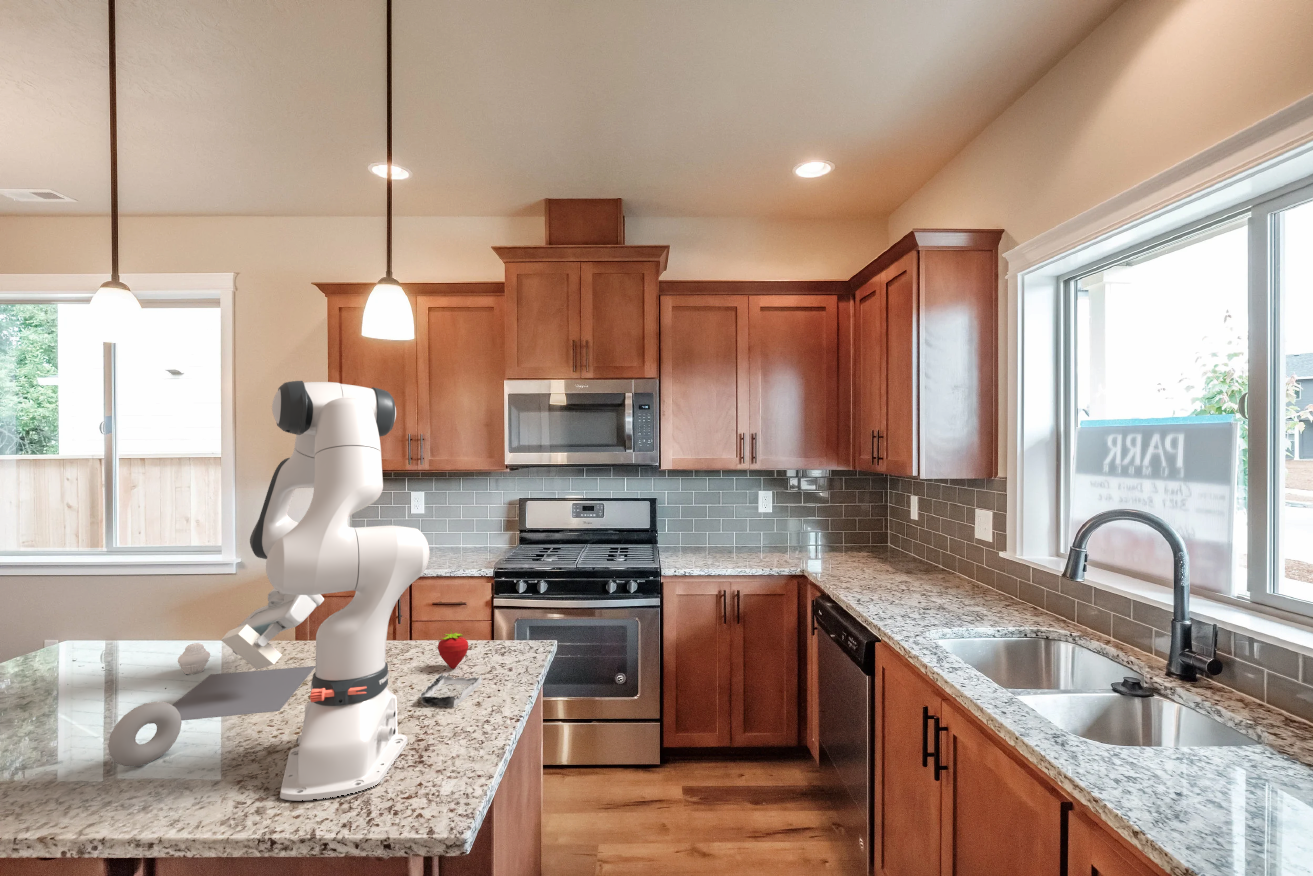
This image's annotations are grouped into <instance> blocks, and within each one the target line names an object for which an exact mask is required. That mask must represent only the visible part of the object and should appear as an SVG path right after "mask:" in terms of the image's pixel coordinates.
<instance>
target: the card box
mask: <svg viewBox="0 0 1313 876" xmlns="http://www.w3.org/2000/svg"><path fill="white" fill-rule="evenodd" d="M237 627H238V626H237ZM237 627H236V628H233V629H229V630H228V631H227V632H226V634H225V635H224V636H223V637H222V638H221V639H220V641H221V642H223V644H225V645H226V646H227V647H228V648H230V649H231V651H232V650H233V651H235V652H236V653H237V654H238V655H237V656H239V657H240V658H242V659H243V660H244V662H246V663H248V664H249V665H250V666H251V667H253V668H254V669H255V671H259V670H262V669H264V668H268V667H270V666H273V665H275V664H276V663H277V661H278V660H279V659H280V658H281V657H282V655H283V654H282V653H281V652H280V651H278V649H276V648H275V647H274V646H273V645H272V644H271V643H269V642H268V643H267V644H266V645H265V646H263V647H260V648H258V647H257V646H256V645H254V642H255V640H256V639H257V638H258V637H259V636H260V635H259V634H258V633H257V632H256V631H254V630H253V629H252V628H251V627H250V626H249V625H247V624H246V625H243V626H240V627H238V628H237ZM233 651H232V652H233Z"/></svg>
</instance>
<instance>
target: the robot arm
mask: <svg viewBox="0 0 1313 876" xmlns="http://www.w3.org/2000/svg"><path fill="white" fill-rule="evenodd" d="M271 407H272V408H271V409H272V416H273V417H274V420H275V422H276V426H277V427H278V428H279V429H280V430H281V431H283V432H285V433H288V434H292V435H295V441H294V449H293V452H292V454H291V456H290V457H286V458H285V459H282V460H281V461H280V463H279V464H278V465H277V467H276V468H275V470H274V472H273V475H272V477H271V480H270V483H269V486H268V489H267V492H266V496H265V499H264V502H263V505H262V508H261V511H260V514H259V518H258V520H257V522H256V524H255V525H254V528H253V530H252V532H251V535H250V537H249V544H250V548H251V551H252V552H253V554H254V556H255V557H256V558H259V559H263V560H266V562H265V573H266V576H267V579H268V581H269V583H270V584H271V586H272V587H273V588H272V589H271V591H270V592H269V593H268V594H267V601H268V603H267V605H265V606H262V607H259V608H257V609H255V610H254V611H252V612H251V613H250V614H249V615H248V616H247V617H246V618H245V619H244V620H243V621H242V622H241V623H240V624H238V626H237V627H236V628H238V627H240V626H243V625H246V624H247V625H249V626H250V627H251V628H252V629H253V630H254V631H256V632H257V633H258V634H259V635H260V636H259V637H258V638H257V639H256V640H255V642H254V645H256V646H257V647H258V648H260V647H263V646H265V645H266V644H267V643H269V642H270V641H271V640H272V639H274V638H275V637H276V636H277V635H279V634H280V632H283V631H286V630H290V629H292V628H296V627H297V626H300V624H302V623H303V622H304V621H305V620H306V619H307V618H308V617H309V616H310V615H311V613H313V611H314V610H315V609H316V608H317V607H319V606H321V604H323V602H324V601H325V598H324V597H323V595H325V594H326V595H327V594H333V593H341V592H352V591H354V592H355V594H354V596H353V598H352V599H351V601H350V602H349V603H348V604H347V605H346V606H344V607H343V608H342V609H340V610H338V611H336V612H334V613H333V614H331V615H329V616H328V617H327V618H326V619H324V621H323V622H322V623H321V624H320V625H319V627H318V629H317V631H316V634H315V665H314V666H315V668H314V670H315V671H314V673H312V679H311V683H310V696H309V701H308V702H307V703H306V704H305V705H304V719H303V723H302V728H301V729H302V730H301V734H300V735H298V736H297V737H296V743H297V746H295V747H294V748H292V749H290V751H289V753H288V757H287V760H286V765H285V768H284V769H285V770H284V774H283V779H282V784H281V786H280V793H279V798H280V799H282V800H286V801H301V802H302V800H303V801H314V800H313V799H317V800H325V798H326V799H332V797H333V798H338V797H337V796H339V797H342V796H341V795H344V796H348V795H347V794H349V795H351V794H350V793H353V794H356V793H355V792H357V793H359V792H358V791H361V790H364V789H367V788H370V787H372V788H374V787H376V786H375V785H377V784H378V783H379V782H380V780H381V779H382V778H383V779H384V777H385V776H386V775H387V773H388V772H389V770H390V769H391V768H392V766H393V765H392V764H395V762H396V760H397V759H398V757H399V756H400V755H401V753H402V752H403V750H404V749H405V747H406V746H407V745H406V744H408V743H409V742H408V741H409V740H408V736H407V735H405V734H402V733H398V732H399V731H398V730H399V729H398V702H397V699H398V697H397V695H395V694H394V693H392V692H391V690H390V689H389V687H388V685H389V675H390V673H389V664H388V663H387V662H386V655H387V653H386V652H387V651H386V650H387V640H388V639H387V638H388V628H389V622H390V618H391V616H392V612H393V610H394V607H395V606H396V604H397V602H398V600H399V599H400V598H401V596H402V595H403V593H404V592H405V591H406V590H407V589H408V588H409V587H410V586H411V584H413V583H414V582H415V581H416V580H418V579H419V578H420V577H421V576H422V575H423V573H424V572H425V571H426V569H427V567H428V564H429V562H430V561H429V560H430V553H431V552H430V546H429V543H428V539H427V537H426V536H425V535H424V533H422V531H420V529H418V528H416V527H411V526H410V527H409V526H402V525H377V526H375V525H374V526H363V527H361V526H358V527H353V526H349V525H348V522H349V517H350V516H352V515H353V514H355V513H357V512H359V511H361V510H364V509H366V508H367V507H369V506H371V505H372V504H374V503H375V502H376V501H377V500H378V499H379V498H380V496H381V495H382V492H383V489H384V479H383V461H382V447H381V446H382V445H381V439H380V438H381V437H384V436H386V435H388V434H389V433H390V432H391V431H392V429H394V428H393V427H394V424H395V421H396V418H397V408H396V404H395V399H394V397H393V396H392V394H391V393H390V392H389V391H388V390H385V389H381V388H379V387H375V386H373V387H371V388H370V387H366V386H361V385H354V384H353V385H352V384H348V383H347V384H346V383H340V382H335V381H334V382H332V381H308V382H307V381H305V382H304V380H295V381H293V380H292V381H285V382H284V383H282V384H281V385H280V386H279V387H278V388H277V392H276V393H275V395H274V397H273V400H272V403H271ZM309 488H311V489H312V488H313V493H312V498H311V502H310V505H309V507H308V508H307V511H306V512H305V514H304V515H303V517H302V519H301V520H300V521H299V522H298V521H296V520H294V519H292V518H291V517H290V516H289V515H288V512H289V509H290V507H291V503H292V499H293V497H294V494H295V491H296V490H297V489H309ZM231 651H232V653H234V654H235V655H236V656H239V655H238V654H237V653H236V652H235V651H233V650H232V649H231ZM403 748H404V749H403ZM396 758H397V759H396ZM395 759H396V760H395ZM394 761H395V762H394ZM391 765H392V766H391ZM389 768H390V769H389ZM388 769H389V770H388ZM387 771H388V772H387ZM385 774H386V775H385ZM384 775H385V776H384ZM383 779H382V780H383ZM382 780H381V781H382ZM380 783H381V782H380ZM380 783H379V784H380ZM379 784H378V785H379ZM378 785H377V786H378ZM373 786H374V787H373ZM370 789H371V788H370ZM367 790H368V789H367ZM364 791H365V790H364ZM361 792H362V791H361ZM330 797H331V798H330ZM323 798H324V799H323Z"/></svg>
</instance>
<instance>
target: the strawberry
mask: <svg viewBox="0 0 1313 876" xmlns="http://www.w3.org/2000/svg"><path fill="white" fill-rule="evenodd" d="M444 636H445V637H442V638H441V639H440V641H438V643H437V644H438V645H437V650H438V654H439V656H440V657H441V659H442V660H443V662H445V664H447V665H448V667H449V669H453V670H454V669H456V668H457V667H458V666H459V664H460V663H461V662H462V661H463V659H464V658H465V657H466V655H467V654H468V650H469V642H468V640H467V639H466V638H465V637H464V635H463V633H458V632H455V633H453V631H452V630H450V633H445V634H444Z"/></svg>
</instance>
